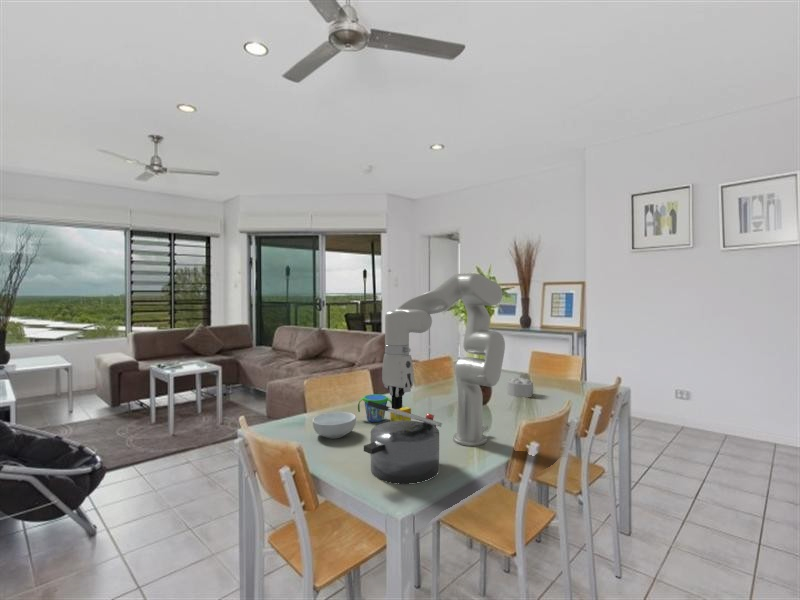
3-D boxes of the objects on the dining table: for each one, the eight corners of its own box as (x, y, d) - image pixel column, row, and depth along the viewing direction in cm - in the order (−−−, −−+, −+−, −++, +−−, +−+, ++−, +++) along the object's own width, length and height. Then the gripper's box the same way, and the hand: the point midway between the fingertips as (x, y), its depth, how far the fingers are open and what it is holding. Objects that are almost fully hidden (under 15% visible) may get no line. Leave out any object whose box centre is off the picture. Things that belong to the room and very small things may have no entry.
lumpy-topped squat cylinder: (529, 398, 219) (529, 382, 219) (505, 395, 225) (505, 379, 225) (534, 394, 228) (534, 378, 228) (510, 391, 234) (510, 375, 234)
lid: (404, 416, 151) (406, 408, 152) (455, 431, 135) (457, 422, 136) (346, 399, 132) (349, 390, 132) (399, 414, 116) (402, 404, 116)
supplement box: (390, 434, 166) (389, 407, 165) (401, 431, 169) (401, 404, 169) (399, 438, 161) (399, 410, 161) (411, 435, 165) (411, 407, 165)
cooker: (407, 448, 152) (407, 415, 151) (456, 465, 137) (456, 429, 136) (344, 473, 131) (344, 435, 131) (394, 498, 116) (394, 455, 115)
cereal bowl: (336, 425, 177) (336, 408, 177) (364, 433, 167) (364, 416, 166) (303, 436, 164) (303, 418, 164) (332, 446, 154) (332, 427, 153)
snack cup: (395, 417, 188) (395, 394, 188) (390, 424, 178) (390, 400, 177) (361, 415, 191) (361, 393, 190) (355, 422, 180) (355, 399, 180)
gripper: (422, 351, 129) (422, 410, 129) (388, 346, 139) (388, 401, 140) (406, 354, 123) (406, 415, 124) (372, 349, 134) (372, 406, 134)
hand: (397, 408), depth 132 cm, fingers closed
